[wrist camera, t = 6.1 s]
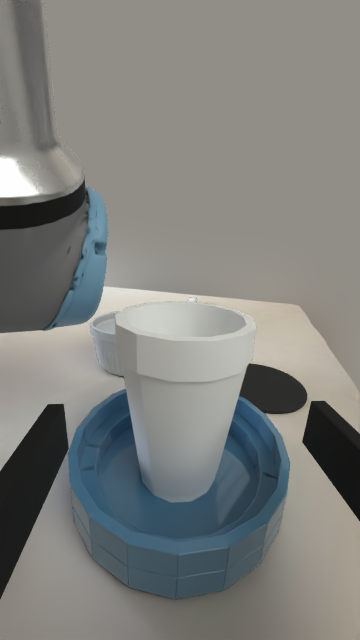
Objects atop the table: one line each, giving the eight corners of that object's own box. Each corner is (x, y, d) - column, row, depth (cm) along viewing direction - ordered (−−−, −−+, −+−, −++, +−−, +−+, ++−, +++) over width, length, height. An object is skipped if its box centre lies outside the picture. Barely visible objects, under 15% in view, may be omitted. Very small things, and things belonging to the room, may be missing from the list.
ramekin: (76, 379, 34) (72, 331, 32) (110, 343, 46) (108, 307, 44) (172, 386, 33) (174, 337, 31) (179, 347, 46) (181, 311, 44)
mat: (197, 383, 34) (197, 380, 34) (243, 358, 42) (244, 356, 42) (282, 429, 26) (283, 426, 26) (319, 388, 34) (320, 385, 34)
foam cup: (242, 443, 23) (261, 310, 19) (222, 551, 15) (248, 354, 11) (152, 416, 26) (153, 297, 23) (94, 492, 18) (81, 324, 14)
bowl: (41, 463, 21) (35, 426, 20) (179, 392, 32) (180, 365, 31) (172, 720, 10) (176, 666, 9) (313, 474, 21) (322, 437, 20)
